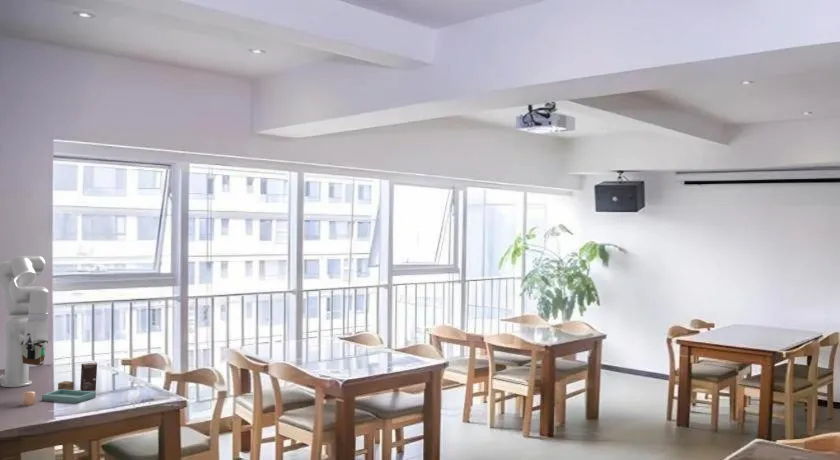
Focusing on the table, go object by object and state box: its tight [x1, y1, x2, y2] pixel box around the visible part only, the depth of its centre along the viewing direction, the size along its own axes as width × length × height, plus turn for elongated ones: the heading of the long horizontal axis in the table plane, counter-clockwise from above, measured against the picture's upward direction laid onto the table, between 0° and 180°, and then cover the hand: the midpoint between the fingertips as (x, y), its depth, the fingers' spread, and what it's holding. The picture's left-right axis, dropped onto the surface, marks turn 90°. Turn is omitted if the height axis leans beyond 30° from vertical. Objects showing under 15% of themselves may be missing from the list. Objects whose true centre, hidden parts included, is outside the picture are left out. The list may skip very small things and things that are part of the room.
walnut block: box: [57, 380, 75, 390], centre depth 310 cm, size 4×4×4 cm
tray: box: [41, 389, 97, 404], centre depth 298 cm, size 17×11×2 cm, turn 80°
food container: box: [20, 340, 48, 367], centre depth 302 cm, size 12×6×10 cm, turn 75°
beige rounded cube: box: [22, 390, 36, 407], centre depth 287 cm, size 4×4×5 cm
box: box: [79, 362, 98, 391], centre depth 316 cm, size 6×4×12 cm
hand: (36, 357), depth 301 cm, fingers closed on food container, 5 cm apart
